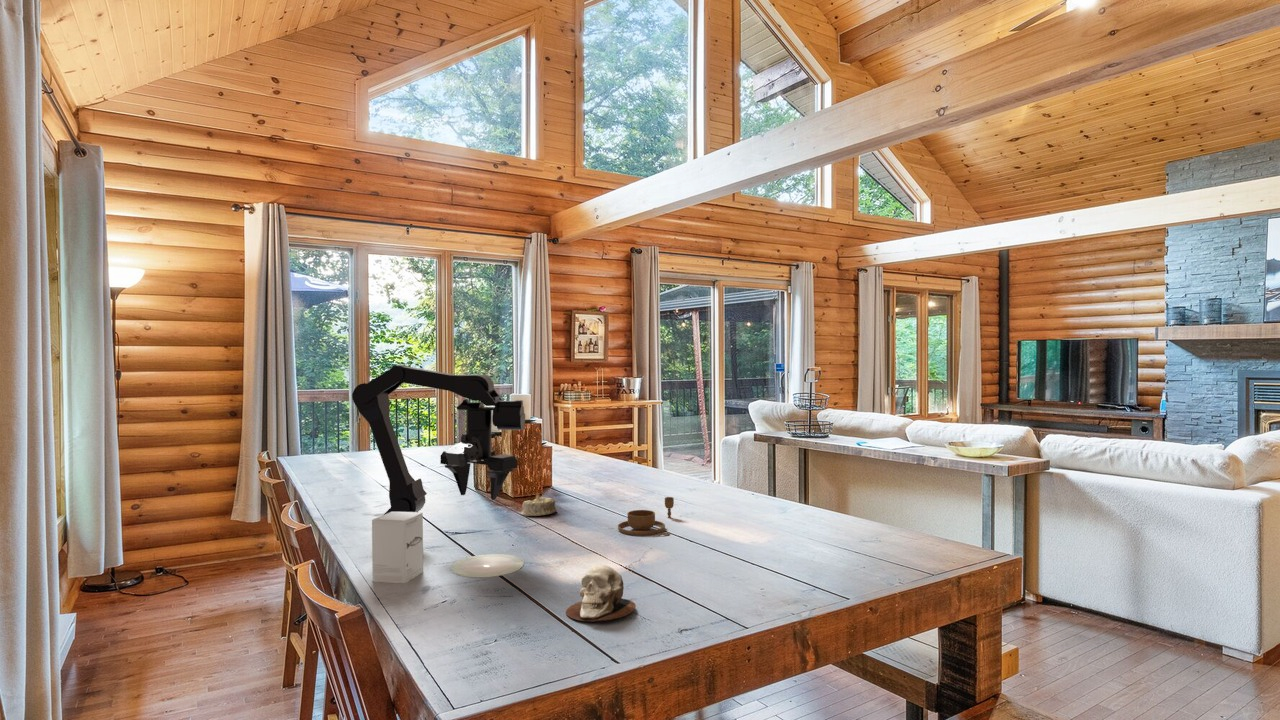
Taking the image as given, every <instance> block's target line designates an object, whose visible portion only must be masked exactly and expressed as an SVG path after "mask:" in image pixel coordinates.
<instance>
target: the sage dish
mask: <svg viewBox="0 0 1280 720" xmlns="http://www.w3.org/2000/svg"><path fill="white" fill-rule="evenodd" d="M523 565H525V561H524V559H522V558H521V557H519V556H517V555H513V554H506V553H505V554H503V553H502V554H501V553H490V554H489V553H487V554H479V555H472V556H467V557H465V558H461V559H459V560H457V561H456V562H453V564H452V565H451V566H450V570H451V572H452V573H453V574H455V575H457V576H460V577H461V576H462V577H465V578H466V577H467V578H491V577H492V578H493V577H499V576H504V575H505V576H506V575H508V574H512V573H515V572H517V571H519V570H521V569H522V568H523V567H524V566H523ZM521 567H522V568H521ZM520 568H521V569H520Z"/></svg>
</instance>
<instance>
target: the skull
mask: <svg viewBox="0 0 1280 720" xmlns="http://www.w3.org/2000/svg"><path fill="white" fill-rule="evenodd" d="M581 586H582V587H581V589H580V590H579V593H578V595H579V596H580V597H582V600H581V601H578V602H575V603H574V604H572V605H570V606H568V607H567V609H566V610H565V614H566V616H567V617H569V618H571V619H573V620H577V621H581V622H592V623H593V622H602V621H604V622H605V621H611V620H615V619H617V620H618V619H620V618H622V617H625V616H626V617H627V616H628V615H629V614H631V613H632V612H634V611H635V610H636V603H635V602H634V601H632V600H630V599H627V598H623V595H624V580H623V577H622V575H621V574H620V573H619V572H618V571H617V570H615V569H614V568H613V567H611V566H608V565H606V564H597V565H596V564H595V565H594V566H592V567H591V568H589V569H588V570H587V571H586V573H585V574H584V575H583V576H582V578H581Z"/></svg>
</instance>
